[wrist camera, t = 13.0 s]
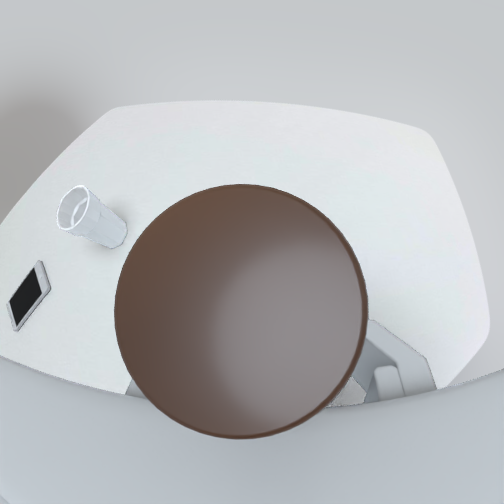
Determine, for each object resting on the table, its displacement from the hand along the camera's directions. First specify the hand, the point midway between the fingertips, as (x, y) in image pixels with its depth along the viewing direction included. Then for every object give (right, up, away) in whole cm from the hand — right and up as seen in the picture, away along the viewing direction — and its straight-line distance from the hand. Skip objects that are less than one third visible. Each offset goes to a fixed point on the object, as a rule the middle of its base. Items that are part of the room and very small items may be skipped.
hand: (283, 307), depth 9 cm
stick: (+2, -3, +10) cm, 10 cm away
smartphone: (-46, -7, +34) cm, 58 cm away
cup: (-23, +5, +34) cm, 41 cm away
